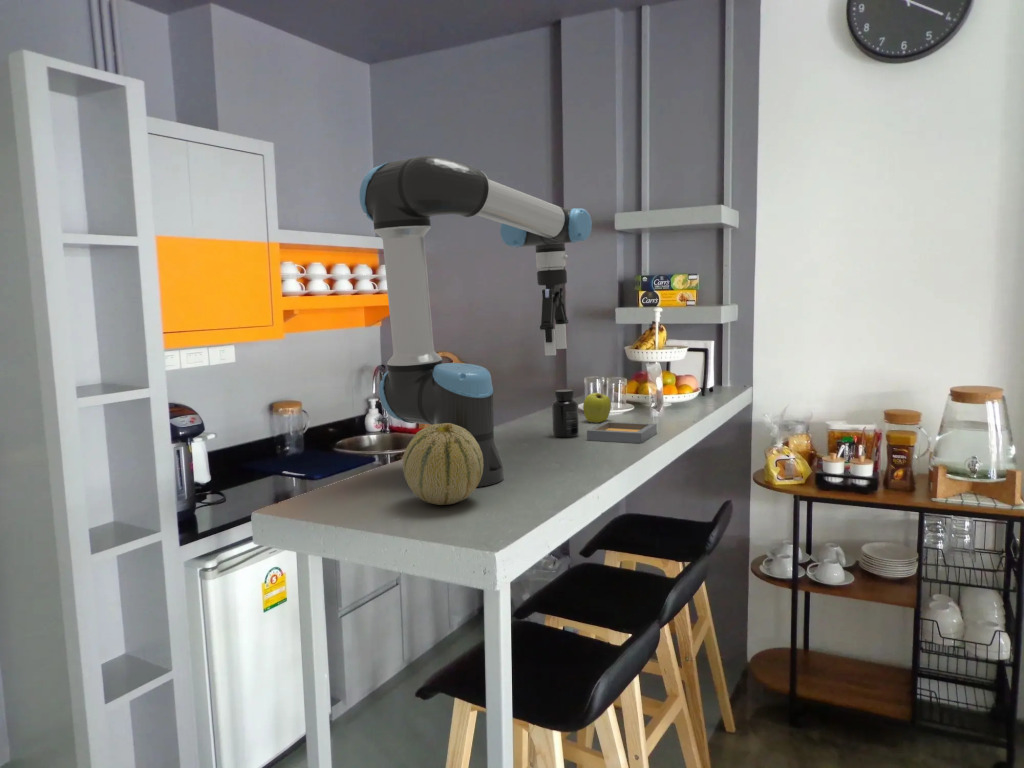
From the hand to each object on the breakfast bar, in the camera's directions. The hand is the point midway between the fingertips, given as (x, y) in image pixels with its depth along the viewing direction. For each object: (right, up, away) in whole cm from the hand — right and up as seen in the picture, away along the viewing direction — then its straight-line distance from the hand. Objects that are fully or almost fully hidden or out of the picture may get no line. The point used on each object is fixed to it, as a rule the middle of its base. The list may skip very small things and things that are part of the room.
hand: (556, 351), depth 196 cm
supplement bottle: (+3, -22, +2) cm, 22 cm away
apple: (+13, -19, +22) cm, 32 cm away
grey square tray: (+17, -22, -2) cm, 28 cm away
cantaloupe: (-24, -30, -59) cm, 70 cm away
